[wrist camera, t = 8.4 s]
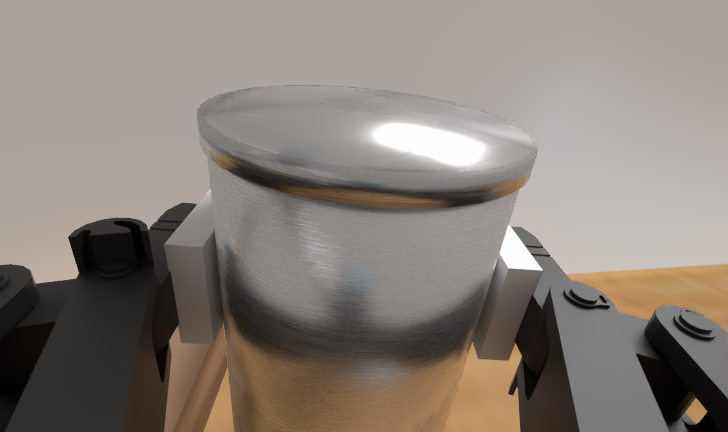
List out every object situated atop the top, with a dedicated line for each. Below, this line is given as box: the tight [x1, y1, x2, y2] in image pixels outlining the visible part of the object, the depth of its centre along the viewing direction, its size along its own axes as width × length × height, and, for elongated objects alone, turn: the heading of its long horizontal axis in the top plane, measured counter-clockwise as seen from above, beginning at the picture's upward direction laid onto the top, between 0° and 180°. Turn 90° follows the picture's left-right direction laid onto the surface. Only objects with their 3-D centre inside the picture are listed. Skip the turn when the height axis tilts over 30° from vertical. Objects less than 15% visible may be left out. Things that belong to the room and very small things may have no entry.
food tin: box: [197, 85, 539, 432], centre depth 10 cm, size 7×7×10 cm
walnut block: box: [164, 325, 227, 432], centre depth 24 cm, size 11×11×5 cm
